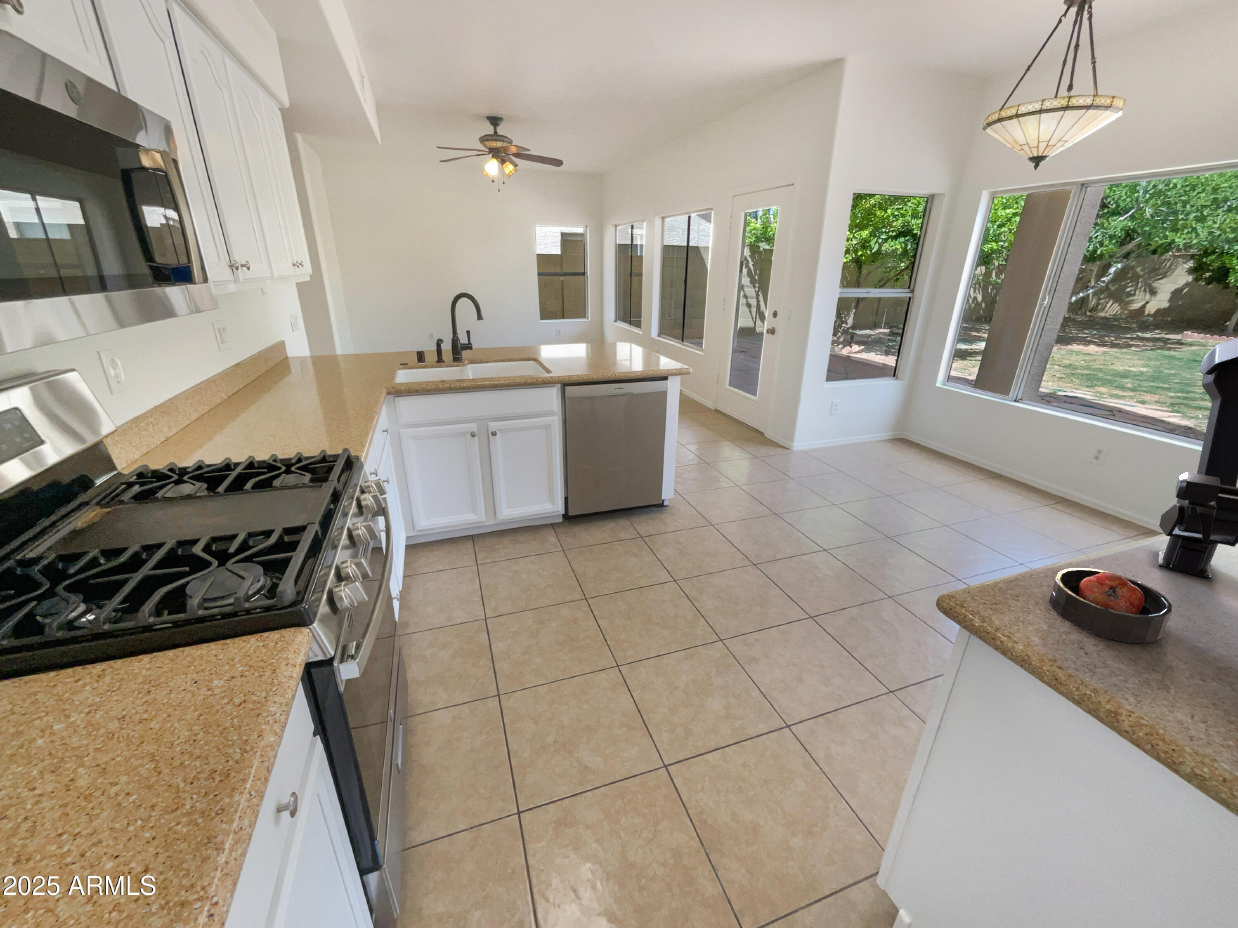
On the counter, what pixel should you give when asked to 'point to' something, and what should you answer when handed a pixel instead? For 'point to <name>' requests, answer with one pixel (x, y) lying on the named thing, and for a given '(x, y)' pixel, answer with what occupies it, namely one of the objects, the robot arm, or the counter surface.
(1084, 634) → the counter surface
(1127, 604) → the tomato
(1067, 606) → the dark shallow dish
